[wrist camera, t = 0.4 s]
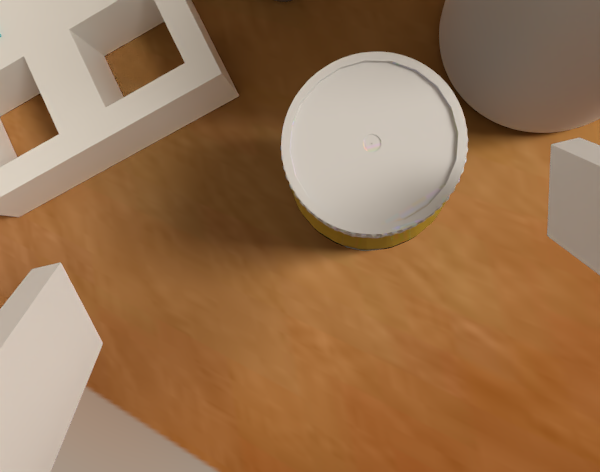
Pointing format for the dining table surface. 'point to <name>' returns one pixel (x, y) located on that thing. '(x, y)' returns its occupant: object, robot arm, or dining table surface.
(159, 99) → the socket block
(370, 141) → the bottle
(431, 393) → the dining table surface
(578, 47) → the cylinder vase
